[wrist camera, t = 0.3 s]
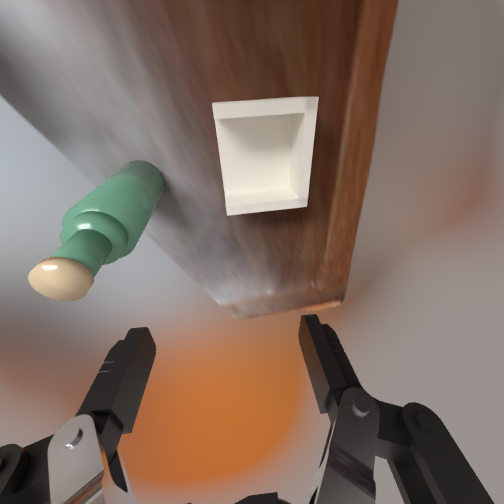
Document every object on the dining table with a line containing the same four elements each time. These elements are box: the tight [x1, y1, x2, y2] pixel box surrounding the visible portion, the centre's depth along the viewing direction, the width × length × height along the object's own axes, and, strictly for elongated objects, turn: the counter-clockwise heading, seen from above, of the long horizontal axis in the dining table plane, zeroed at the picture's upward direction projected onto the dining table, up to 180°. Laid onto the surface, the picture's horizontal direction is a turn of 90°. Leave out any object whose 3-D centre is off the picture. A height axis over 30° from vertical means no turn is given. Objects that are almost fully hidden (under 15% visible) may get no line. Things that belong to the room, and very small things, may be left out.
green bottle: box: [28, 161, 165, 301], centre depth 20 cm, size 5×5×19 cm
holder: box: [212, 97, 319, 216], centre depth 26 cm, size 10×11×5 cm
